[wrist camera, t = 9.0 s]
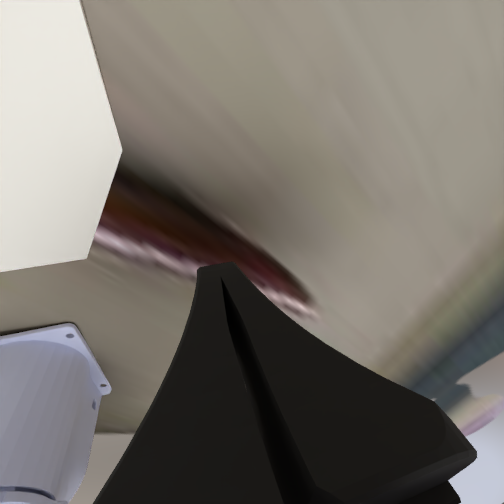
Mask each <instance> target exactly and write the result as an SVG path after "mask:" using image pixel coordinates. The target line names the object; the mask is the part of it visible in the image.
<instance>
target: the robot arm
mask: <svg viewBox="0 0 504 504" xmlns="http://www.w3.org/2000/svg"><path fill="white" fill-rule="evenodd" d="M101 384H106V386H104V387H103V386H100V385H101ZM245 386H246V387H245ZM110 391H111V386H110V384H109V382H108V380H107V379H106V377H105V375H104V373H103V371H102V370H101V368H100V366H99V364H98V362H97V361H96V359H95V357H94V355H93V353H92V352H91V350H90V348H89V346H88V344H87V343H86V341H85V340H84V338H83V336H82V335H81V333H80V332H79V330H78V328H77V327H76V326H75V325H74V324H72V323H65V324H60V325H55V326H50V327H45V328H40V329H35V330H30V331H25V332H20V333H15V334H10V335H5V336H0V504H68V503H69V502H70V501H71V499H72V498H73V496H74V495H75V493H76V492H77V490H78V488H79V486H80V484H81V482H82V480H83V478H84V475H85V473H86V470H87V466H88V461H89V456H90V451H91V446H92V441H93V437H94V432H95V427H96V422H97V417H98V412H99V407H100V402H101V397H102V396H103V395H106V394H109V393H110ZM476 458H477V451H476V450H475V449H474V448H473V446H472V445H471V444H470V442H469V441H468V440H467V439H466V437H465V436H464V435H463V434H462V433H461V431H460V430H459V429H458V428H457V426H456V425H455V424H454V423H453V421H452V420H451V419H450V418H449V417H448V416H447V415H446V414H445V413H444V412H443V410H442V409H441V408H440V407H439V406H438V405H437V404H436V403H435V402H434V401H432V400H430V399H428V398H426V397H424V396H422V395H419V394H417V393H415V392H413V391H411V390H409V389H407V388H405V387H403V386H401V385H399V384H396V383H394V382H392V381H390V380H388V379H386V378H384V377H382V376H380V375H378V374H377V373H375V372H373V371H371V370H369V369H367V368H366V367H364V366H362V365H360V364H358V363H357V362H355V361H353V360H352V359H350V358H348V357H347V356H345V355H343V354H342V353H340V352H338V351H337V350H335V349H334V348H332V347H330V346H329V345H327V344H325V343H324V342H322V341H321V340H320V339H318V338H317V337H315V336H314V335H312V334H311V333H309V332H308V331H307V330H305V329H304V328H303V327H301V326H300V325H299V324H297V323H296V322H295V321H293V320H292V319H291V318H290V317H288V316H287V315H286V314H285V313H284V312H282V311H281V310H280V309H279V308H278V307H277V306H275V305H274V304H273V303H272V302H271V301H270V300H269V299H268V298H267V297H266V296H265V295H264V294H263V293H262V292H261V291H260V290H259V289H258V288H257V287H256V286H255V285H254V284H253V283H252V282H251V281H250V280H249V279H248V278H247V277H246V276H245V274H244V273H243V272H242V271H241V270H240V268H239V267H238V266H237V265H236V263H234V262H227V263H221V264H216V265H210V266H204V267H200V268H199V269H198V270H197V283H196V289H195V294H194V298H193V302H192V306H191V310H190V314H189V317H188V320H187V323H186V326H185V329H184V332H183V335H182V338H181V341H180V343H179V346H178V348H177V351H176V353H175V356H174V358H173V360H172V363H171V365H170V367H169V369H168V371H167V374H166V376H165V378H164V380H163V382H162V384H161V386H160V388H159V390H158V392H157V394H156V396H155V398H154V400H153V402H152V404H151V406H150V408H149V410H148V411H147V413H146V415H145V417H144V419H143V420H142V422H141V424H140V426H139V428H138V429H137V431H136V433H135V435H134V437H133V439H132V440H131V442H130V444H129V446H128V447H127V449H126V451H125V453H124V454H123V456H122V458H121V459H120V461H119V463H118V464H117V466H116V467H115V469H114V471H113V472H112V474H111V475H110V477H109V479H108V480H107V482H106V483H105V485H104V487H103V488H102V490H101V491H100V493H99V495H98V496H97V498H96V499H95V501H94V503H93V504H459V503H461V501H460V497H459V496H458V494H457V493H456V491H455V490H454V489H453V487H452V486H451V484H450V483H449V481H448V480H449V479H450V478H452V477H453V476H455V475H456V474H457V473H459V472H460V471H461V470H463V469H464V468H466V467H467V466H468V465H470V464H471V463H472V462H474V461H475V459H476ZM502 504H504V503H502Z"/></svg>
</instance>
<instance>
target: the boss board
mask: <svg viewBox="0 0 504 504" xmlns="http://www.w3.org/2000/svg"><path fill="white" fill-rule="evenodd" d="M121 153H122V147H121V143H120V140H119V136H118V132H117V129H116V125H115V122H114V118H113V114H112V111H111V107H110V104H109V100H108V96H107V93H106V89H105V86H104V82H103V78H102V75H101V71H100V68H99V64H98V60H97V57H96V53H95V50H94V46H93V42H92V39H91V35H90V32H89V28H88V24H87V21H86V17H85V14H84V10H83V6H82V3H81V0H0V272H3V271H10V270H16V269H23V268H29V267H36V266H42V265H49V264H56V263H62V262H69V261H75V260H82V259H87V256H88V253H89V250H90V247H91V244H92V241H93V238H94V235H95V232H96V229H97V226H98V223H99V220H100V217H101V214H102V210H103V207H104V204H105V201H106V198H107V195H108V192H109V189H110V186H111V183H112V180H113V177H114V174H115V171H116V168H117V165H118V162H119V159H120V156H121Z"/></svg>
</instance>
